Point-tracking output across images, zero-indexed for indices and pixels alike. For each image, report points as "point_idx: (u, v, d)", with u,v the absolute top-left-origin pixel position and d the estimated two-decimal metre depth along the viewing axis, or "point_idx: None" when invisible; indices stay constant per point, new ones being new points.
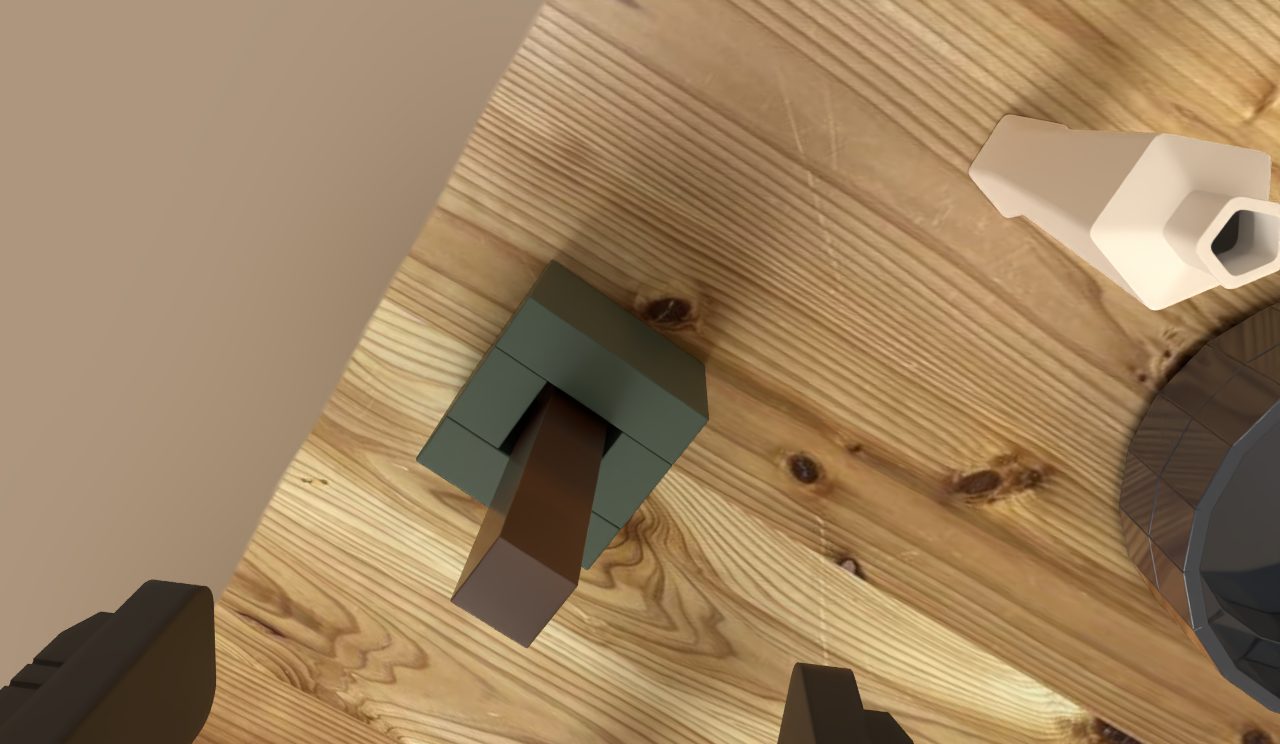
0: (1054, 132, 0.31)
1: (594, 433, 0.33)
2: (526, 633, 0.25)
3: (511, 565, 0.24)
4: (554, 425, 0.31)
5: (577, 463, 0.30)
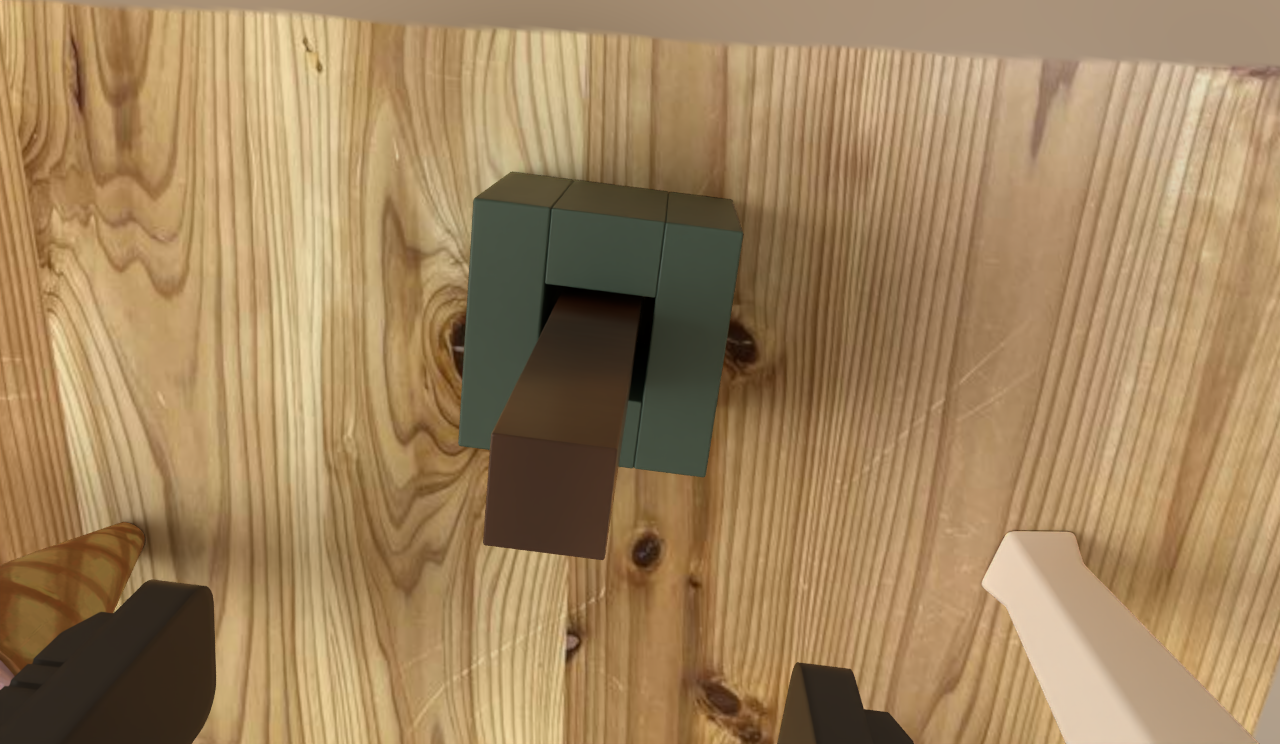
0: (1127, 610, 0.31)
1: (631, 379, 0.27)
2: (503, 535, 0.18)
3: (585, 480, 0.18)
4: None
5: None
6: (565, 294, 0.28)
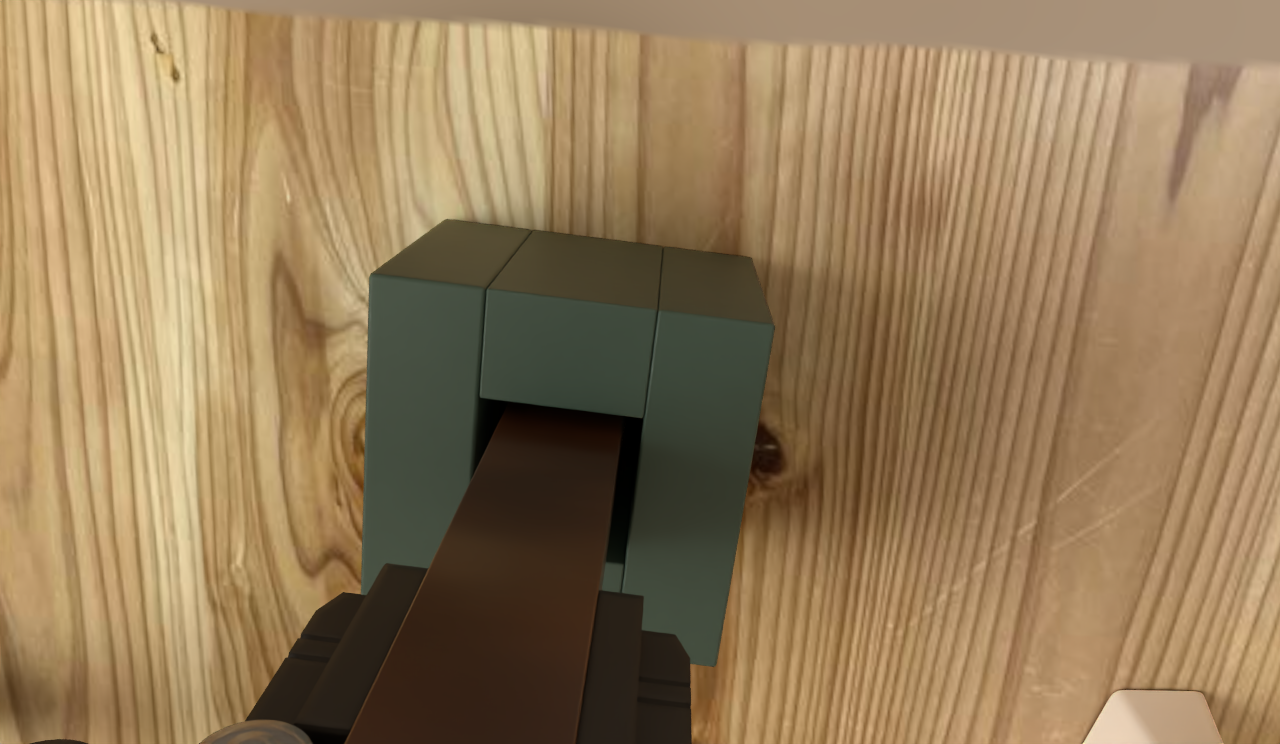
0: None
1: (608, 539, 0.18)
2: None
3: None
4: None
5: None
6: (512, 409, 0.19)
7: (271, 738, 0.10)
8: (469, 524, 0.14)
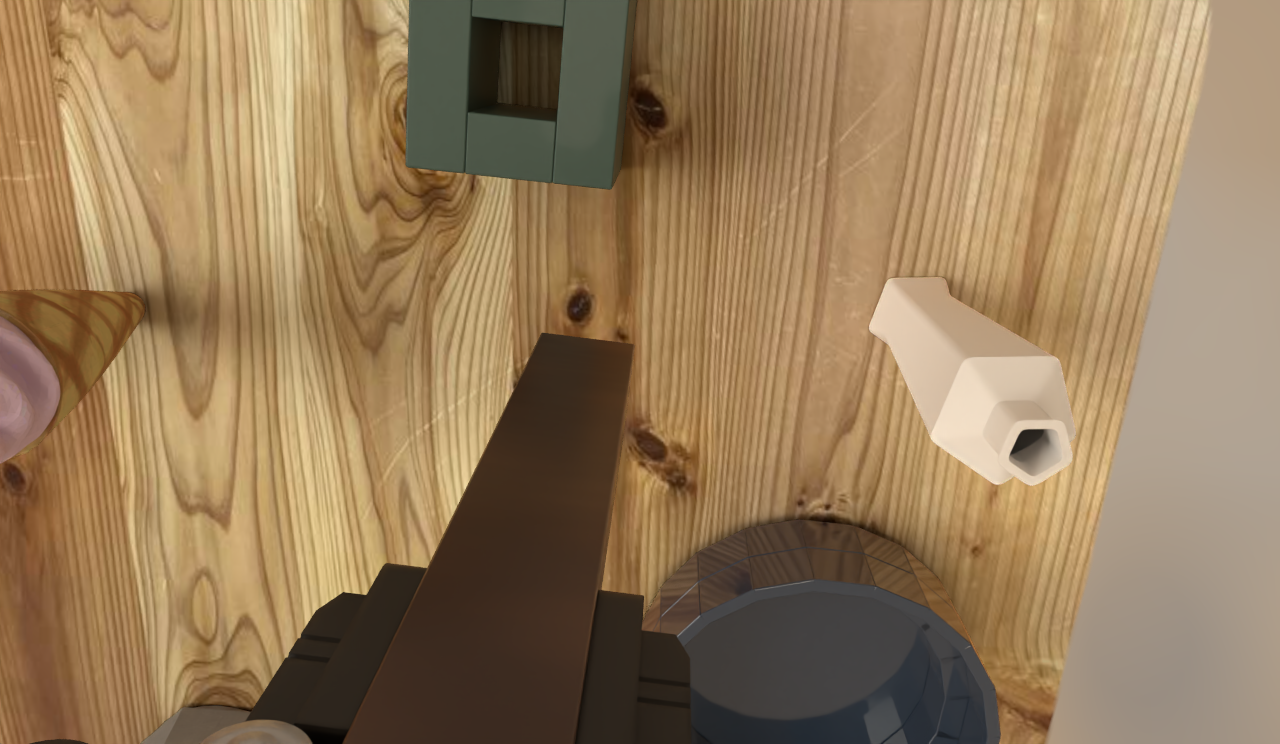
0: (974, 310, 0.36)
1: (608, 538, 0.18)
2: None
3: None
4: (611, 505, 0.17)
5: None
6: (512, 408, 0.19)
7: (271, 737, 0.10)
8: (468, 523, 0.14)
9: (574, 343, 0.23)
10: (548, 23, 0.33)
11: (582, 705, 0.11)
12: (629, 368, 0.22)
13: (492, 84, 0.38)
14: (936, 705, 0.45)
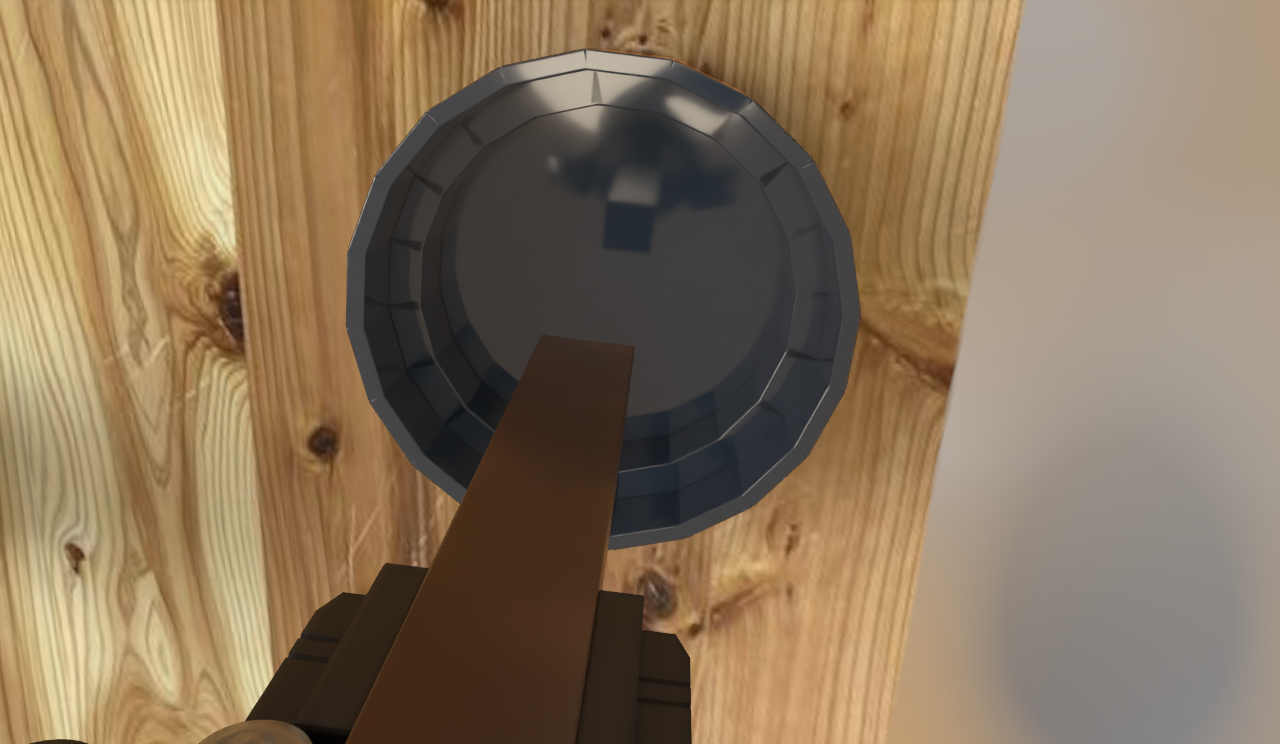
0: None
1: (608, 540, 0.18)
2: None
3: None
4: None
5: None
6: (512, 410, 0.19)
7: (271, 738, 0.10)
8: (469, 526, 0.14)
9: (574, 345, 0.23)
10: None
11: (582, 705, 0.11)
12: (629, 370, 0.22)
13: None
14: (788, 317, 0.33)
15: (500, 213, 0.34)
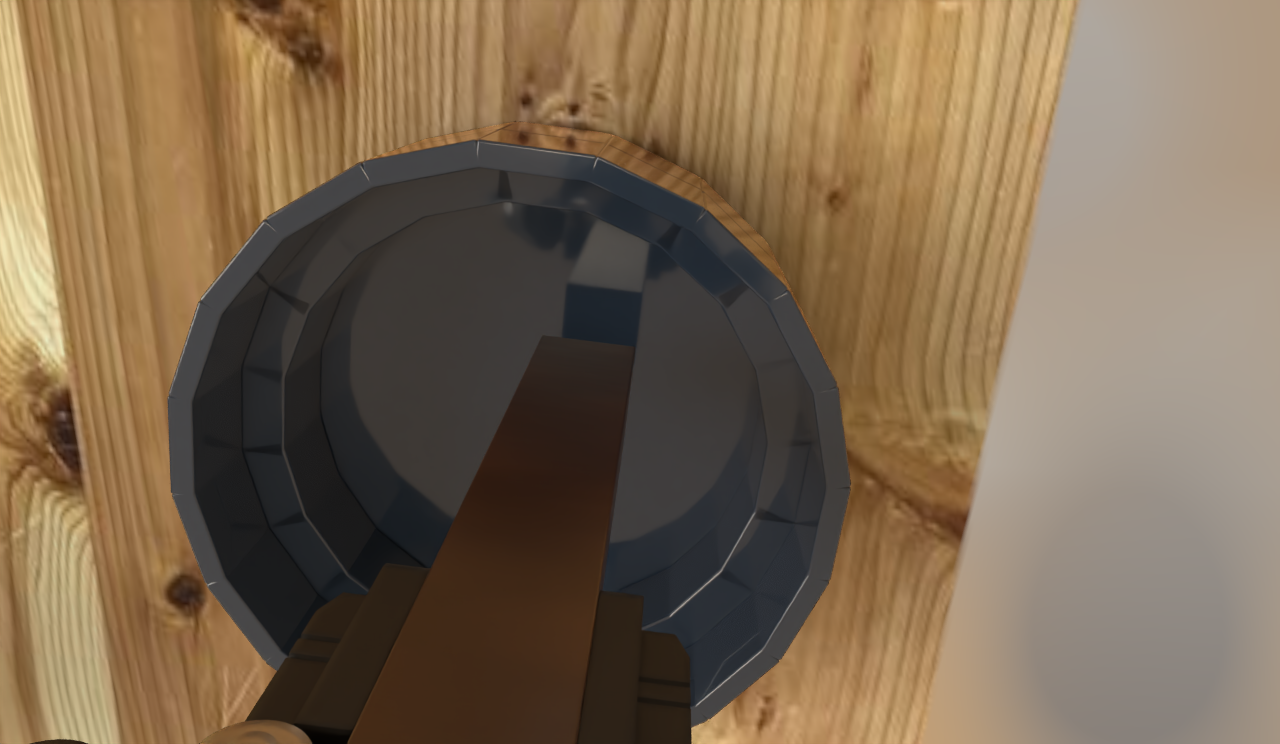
0: None
1: None
2: None
3: None
4: (612, 509, 0.17)
5: None
6: (513, 411, 0.19)
7: (271, 738, 0.10)
8: (470, 527, 0.14)
9: (575, 346, 0.23)
10: None
11: None
12: (630, 371, 0.22)
13: None
14: (758, 466, 0.26)
15: (394, 324, 0.27)
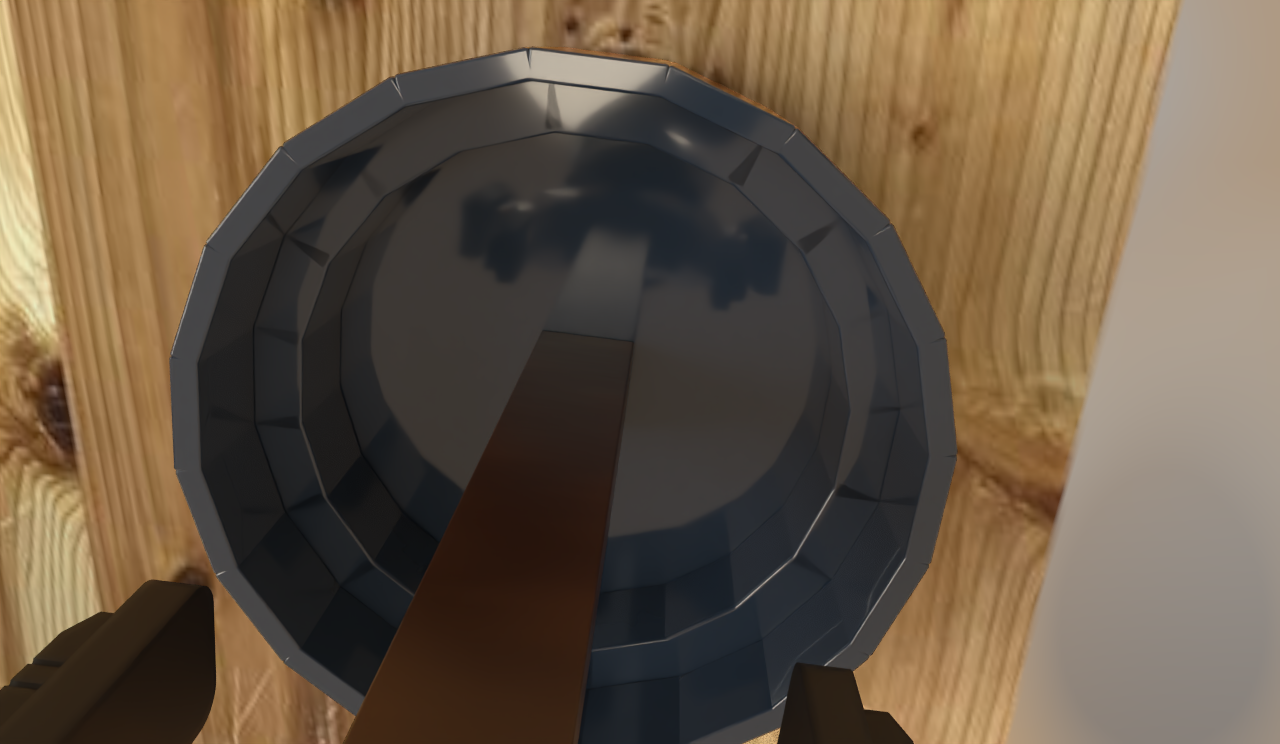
0: None
1: None
2: None
3: None
4: (611, 498, 0.17)
5: None
6: (514, 404, 0.19)
7: None
8: (472, 515, 0.15)
9: (574, 341, 0.24)
10: None
11: None
12: (628, 365, 0.23)
13: None
14: (836, 437, 0.23)
15: (423, 282, 0.24)
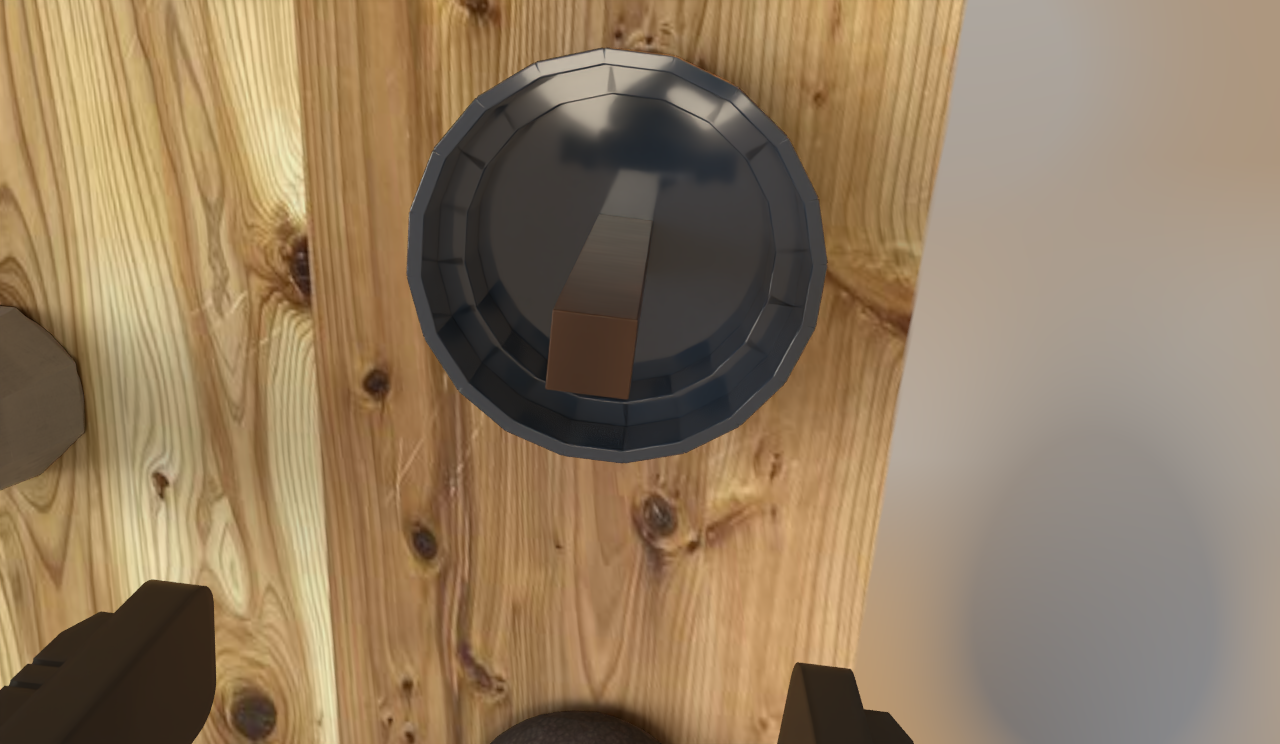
0: None
1: (642, 301, 0.36)
2: (559, 382, 0.27)
3: (616, 342, 0.27)
4: None
5: (640, 313, 0.33)
6: (591, 237, 0.36)
7: None
8: (583, 265, 0.32)
9: (618, 218, 0.41)
10: None
11: None
12: (650, 228, 0.40)
13: None
14: (769, 271, 0.40)
15: (529, 185, 0.41)
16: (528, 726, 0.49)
